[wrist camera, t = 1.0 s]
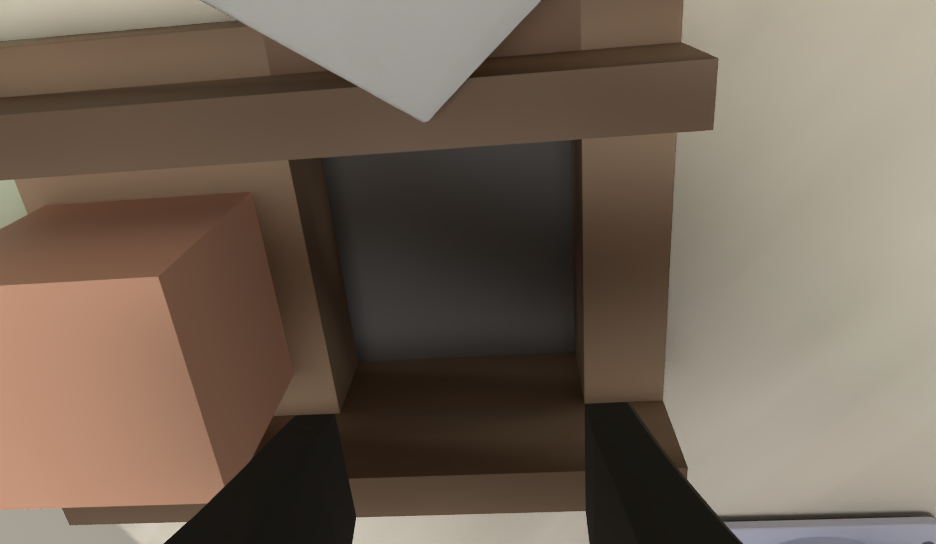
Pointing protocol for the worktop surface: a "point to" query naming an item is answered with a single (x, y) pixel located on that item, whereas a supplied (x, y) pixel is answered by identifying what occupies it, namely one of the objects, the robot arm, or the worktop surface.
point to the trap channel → (407, 230)
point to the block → (135, 351)
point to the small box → (388, 41)
